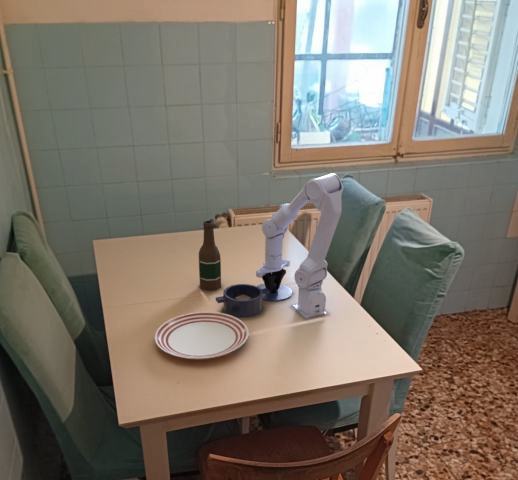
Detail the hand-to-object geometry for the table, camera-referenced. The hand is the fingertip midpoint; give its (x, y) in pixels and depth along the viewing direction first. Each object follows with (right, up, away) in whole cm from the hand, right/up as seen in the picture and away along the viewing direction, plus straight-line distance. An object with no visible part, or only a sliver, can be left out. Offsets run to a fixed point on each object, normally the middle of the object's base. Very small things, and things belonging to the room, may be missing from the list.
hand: (272, 290), depth 195 cm
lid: (0, -1, 0) cm, 1 cm away
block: (-10, -7, -10) cm, 16 cm away
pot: (-10, -7, -10) cm, 16 cm away
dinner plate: (-21, -18, -27) cm, 39 cm away
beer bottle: (-22, +1, +4) cm, 22 cm away
